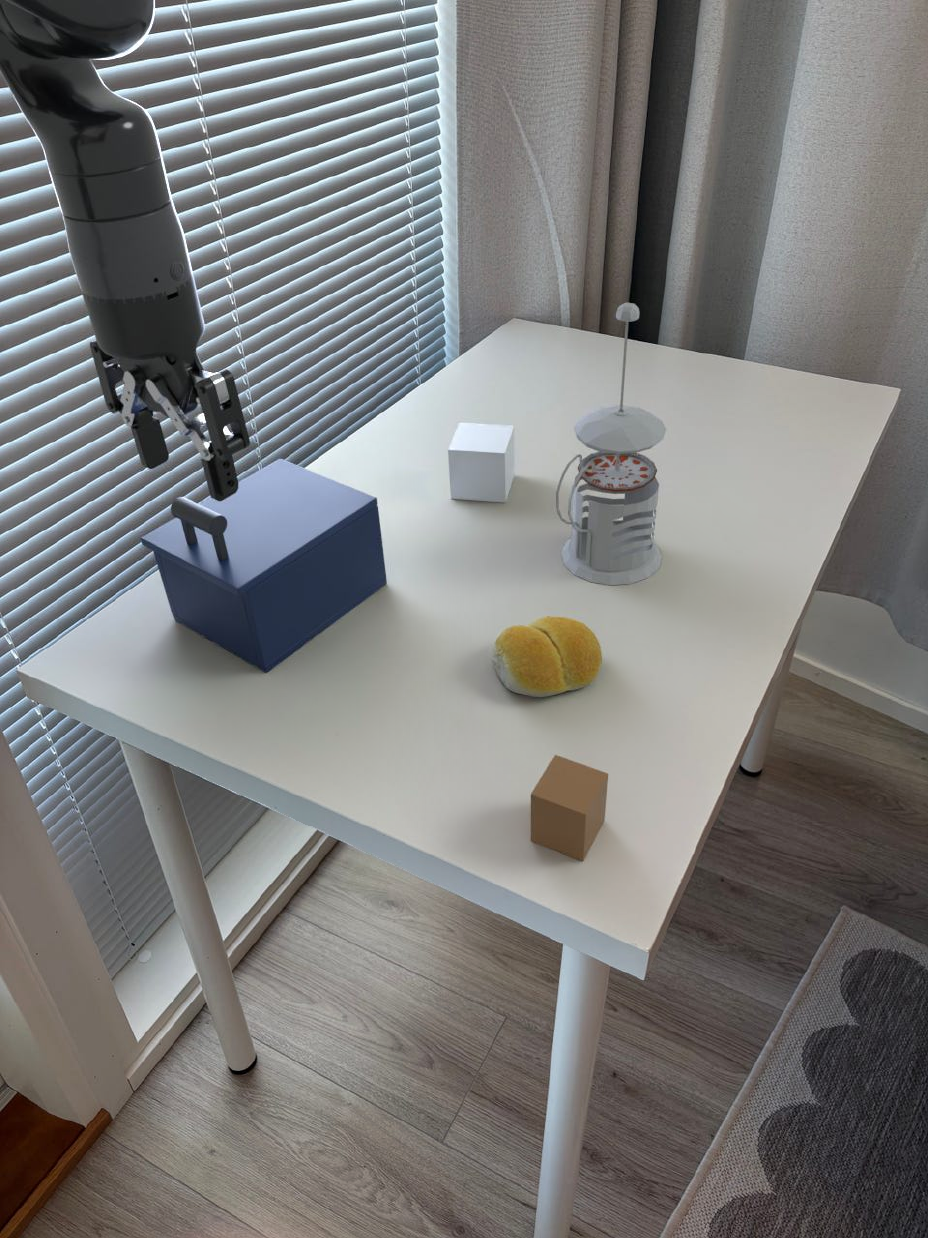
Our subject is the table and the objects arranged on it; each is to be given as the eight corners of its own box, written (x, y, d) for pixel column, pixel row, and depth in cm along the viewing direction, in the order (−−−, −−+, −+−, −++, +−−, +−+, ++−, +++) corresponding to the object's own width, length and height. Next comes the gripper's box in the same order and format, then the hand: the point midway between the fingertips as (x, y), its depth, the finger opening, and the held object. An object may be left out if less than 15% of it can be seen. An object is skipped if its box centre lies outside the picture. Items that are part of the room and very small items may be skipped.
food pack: (583, 862, 65) (585, 815, 62) (530, 840, 67) (530, 794, 64) (604, 820, 68) (608, 773, 65) (553, 801, 69) (554, 754, 66)
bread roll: (616, 683, 79) (620, 646, 76) (516, 712, 77) (516, 675, 74) (574, 624, 85) (576, 589, 82) (481, 649, 83) (479, 614, 80)
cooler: (266, 673, 82) (247, 592, 76) (173, 619, 88) (149, 541, 82) (387, 583, 91) (378, 505, 85) (295, 541, 97) (281, 465, 92)
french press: (683, 557, 92) (716, 304, 76) (596, 606, 87) (611, 344, 71) (612, 515, 98) (628, 273, 82) (526, 558, 93) (526, 308, 77)
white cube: (450, 499, 102) (447, 449, 98) (462, 470, 107) (459, 422, 103) (506, 502, 101) (504, 452, 97) (515, 474, 106) (514, 425, 102)
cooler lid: (239, 596, 76) (226, 545, 72) (142, 545, 82) (126, 495, 79) (378, 505, 85) (372, 455, 82) (281, 465, 92) (272, 418, 88)
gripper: (29, 272, 66) (97, 474, 77) (155, 313, 59) (212, 530, 69) (119, 241, 71) (172, 436, 81) (246, 276, 63) (287, 485, 74)
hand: (190, 479), depth 75 cm, fingers open, 8 cm apart
